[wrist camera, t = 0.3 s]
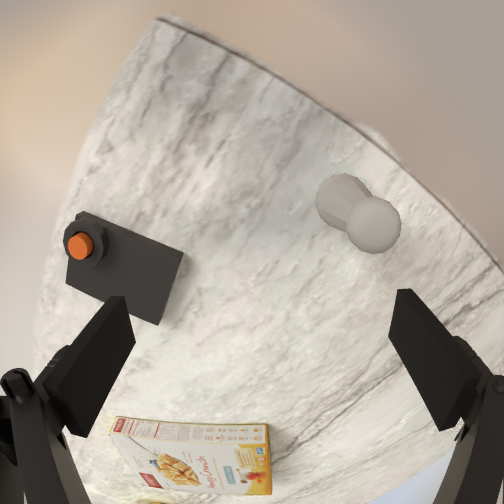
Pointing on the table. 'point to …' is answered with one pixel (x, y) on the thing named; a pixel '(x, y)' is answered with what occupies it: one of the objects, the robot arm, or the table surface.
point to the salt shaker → (358, 213)
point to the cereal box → (196, 456)
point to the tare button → (80, 246)
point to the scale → (122, 267)
